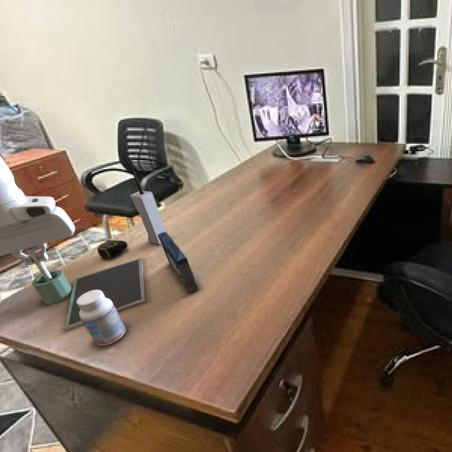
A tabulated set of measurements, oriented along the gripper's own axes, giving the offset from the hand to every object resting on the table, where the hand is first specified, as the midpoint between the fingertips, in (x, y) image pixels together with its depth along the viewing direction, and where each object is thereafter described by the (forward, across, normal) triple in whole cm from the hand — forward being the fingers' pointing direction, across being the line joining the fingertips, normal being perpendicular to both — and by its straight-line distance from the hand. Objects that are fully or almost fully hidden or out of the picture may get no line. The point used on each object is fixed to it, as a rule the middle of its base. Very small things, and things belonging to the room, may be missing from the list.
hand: (38, 261), depth 86 cm
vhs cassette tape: (+11, +30, -11) cm, 34 cm away
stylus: (+9, 0, 0) cm, 9 cm away
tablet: (+11, +12, -6) cm, 17 cm away
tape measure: (+11, +13, +15) cm, 23 cm away
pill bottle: (+11, +13, -25) cm, 30 cm away
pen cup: (+11, 0, 0) cm, 11 cm away
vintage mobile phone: (+11, +26, +14) cm, 31 cm away
